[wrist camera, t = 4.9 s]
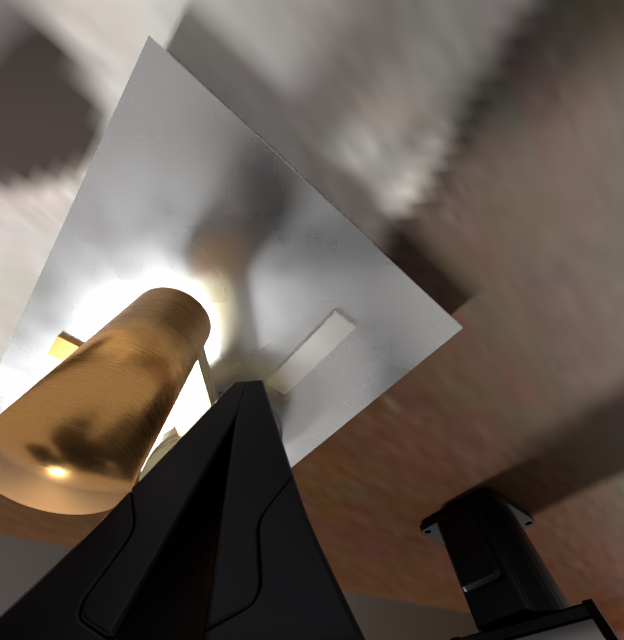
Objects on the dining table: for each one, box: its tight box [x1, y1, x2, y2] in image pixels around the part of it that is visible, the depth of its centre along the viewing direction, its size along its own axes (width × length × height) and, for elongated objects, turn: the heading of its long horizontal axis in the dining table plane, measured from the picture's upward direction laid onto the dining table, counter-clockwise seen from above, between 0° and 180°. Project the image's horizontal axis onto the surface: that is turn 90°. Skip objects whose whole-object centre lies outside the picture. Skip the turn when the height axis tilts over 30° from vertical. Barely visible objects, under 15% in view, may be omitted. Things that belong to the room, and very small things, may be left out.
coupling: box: [0, 287, 219, 515], centre depth 10 cm, size 12×6×6 cm, turn 3°
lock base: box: [0, 36, 463, 471], centre depth 13 cm, size 15×18×4 cm
